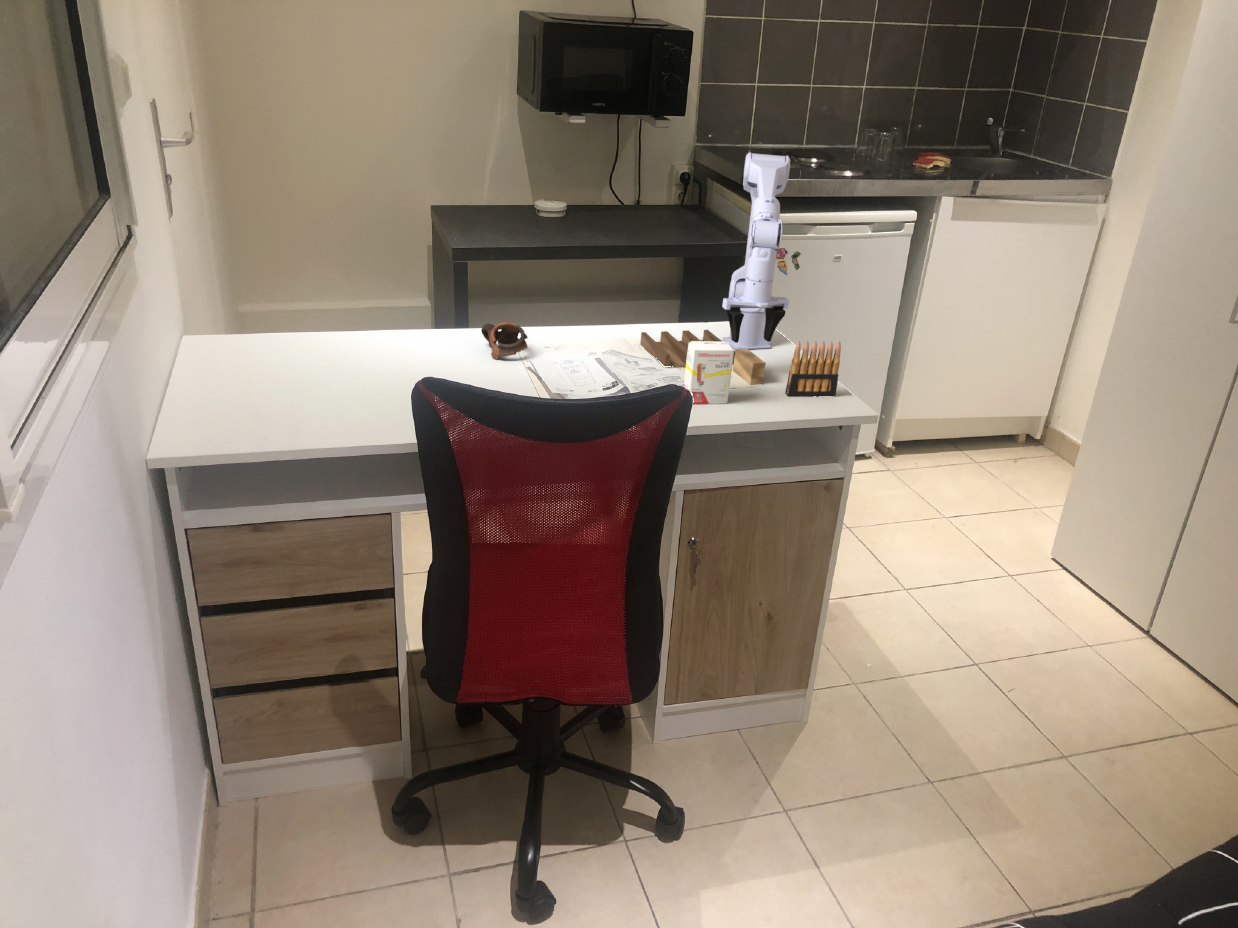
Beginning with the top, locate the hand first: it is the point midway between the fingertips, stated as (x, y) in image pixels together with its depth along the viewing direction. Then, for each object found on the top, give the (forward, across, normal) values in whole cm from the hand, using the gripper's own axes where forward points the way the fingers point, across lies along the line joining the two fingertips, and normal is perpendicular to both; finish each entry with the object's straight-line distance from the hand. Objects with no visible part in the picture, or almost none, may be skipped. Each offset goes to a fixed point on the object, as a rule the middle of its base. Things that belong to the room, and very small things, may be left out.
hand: (750, 340), depth 205 cm
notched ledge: (+8, -8, +16) cm, 20 cm away
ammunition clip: (+9, +10, -12) cm, 18 cm away
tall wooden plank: (+9, 0, 0) cm, 9 cm away
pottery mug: (+9, -50, +21) cm, 55 cm away
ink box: (+9, -14, -11) cm, 20 cm away
